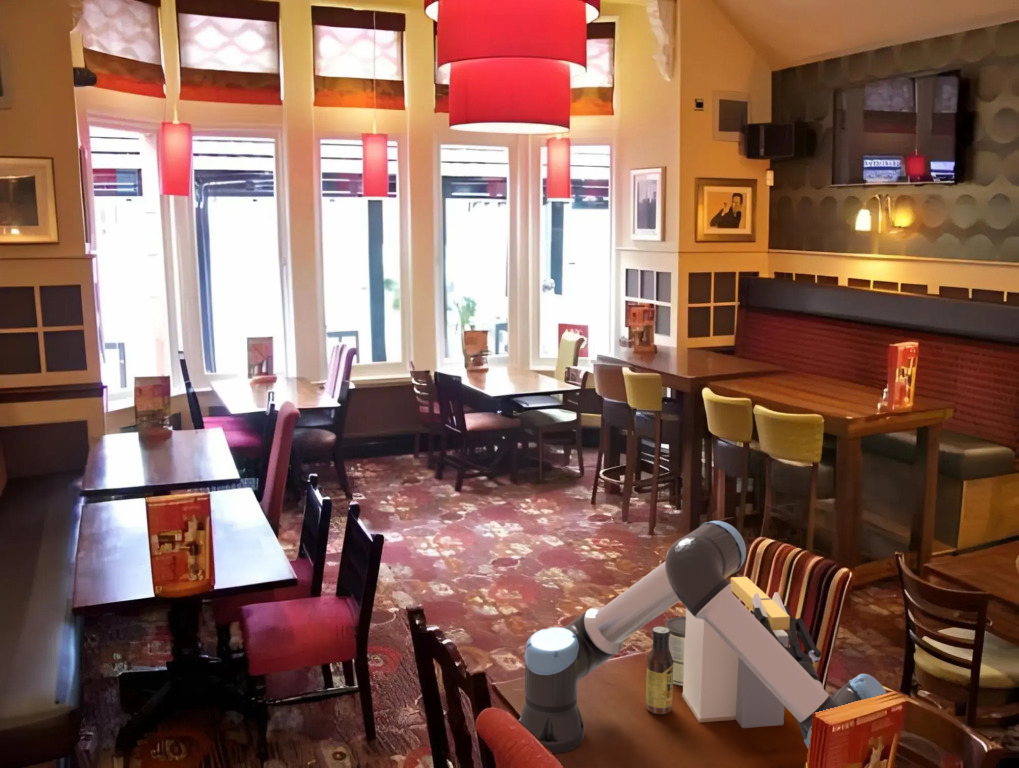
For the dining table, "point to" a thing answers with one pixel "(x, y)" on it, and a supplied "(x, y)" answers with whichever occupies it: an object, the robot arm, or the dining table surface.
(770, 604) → the yellow long bar
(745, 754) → the dining table surface
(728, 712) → the cream pillar
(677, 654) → the coffee can
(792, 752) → the dining table surface
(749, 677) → the grey upright block
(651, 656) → the sauce bottle
